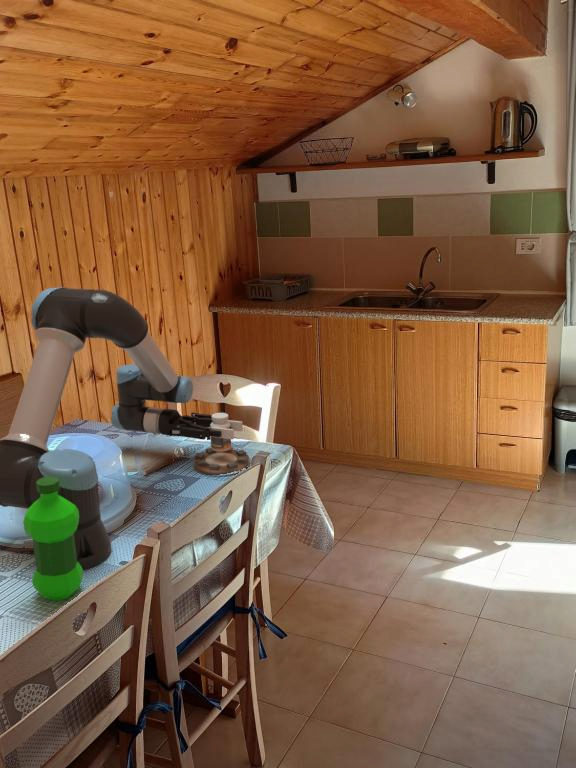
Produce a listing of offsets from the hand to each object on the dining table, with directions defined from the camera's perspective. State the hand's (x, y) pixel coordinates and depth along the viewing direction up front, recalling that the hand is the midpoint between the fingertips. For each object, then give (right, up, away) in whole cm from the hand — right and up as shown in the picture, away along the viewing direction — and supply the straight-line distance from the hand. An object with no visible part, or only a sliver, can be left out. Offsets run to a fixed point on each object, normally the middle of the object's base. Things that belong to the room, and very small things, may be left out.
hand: (237, 430), depth 211 cm
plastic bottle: (-32, -30, -57) cm, 72 cm away
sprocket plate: (-5, -10, +5) cm, 12 cm away
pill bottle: (-5, -5, +3) cm, 8 cm away
